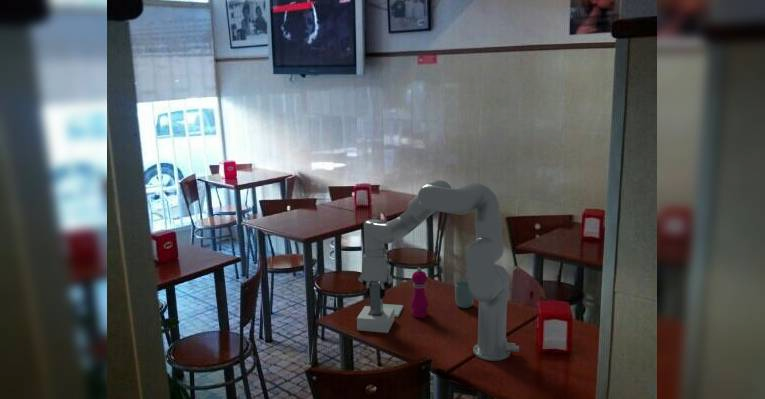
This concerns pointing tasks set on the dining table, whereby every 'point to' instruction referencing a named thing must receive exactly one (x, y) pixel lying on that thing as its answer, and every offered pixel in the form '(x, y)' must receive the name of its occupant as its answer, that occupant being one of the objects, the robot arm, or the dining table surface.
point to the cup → (463, 294)
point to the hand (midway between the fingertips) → (376, 297)
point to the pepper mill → (419, 294)
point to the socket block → (375, 320)
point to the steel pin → (376, 300)
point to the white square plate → (396, 309)
